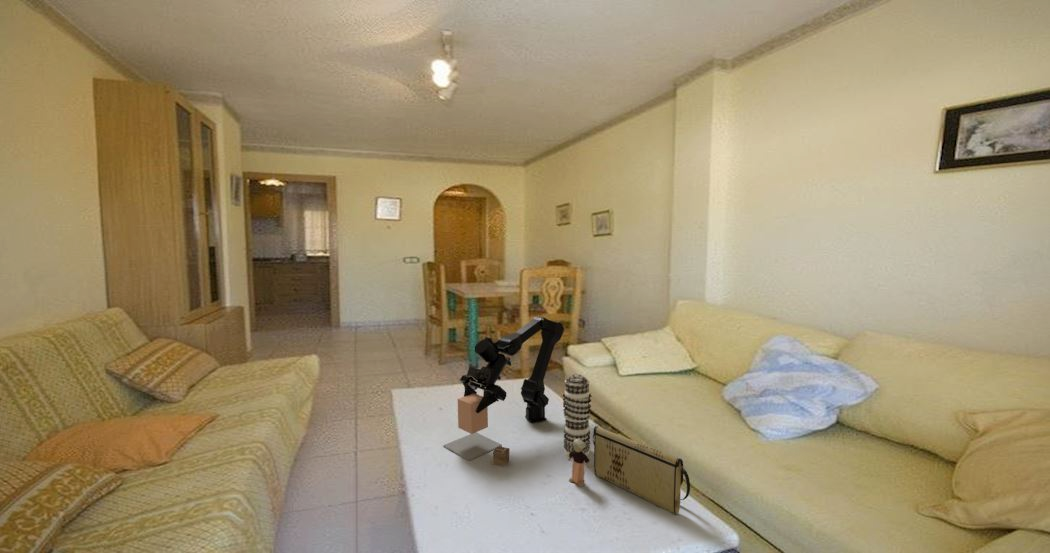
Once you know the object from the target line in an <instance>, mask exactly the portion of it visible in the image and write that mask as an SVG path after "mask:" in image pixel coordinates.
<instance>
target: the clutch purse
mask: <svg viewBox="0 0 1050 553" xmlns="http://www.w3.org/2000/svg"><path fill="white" fill-rule="evenodd" d="M592 439H593V440H592V444H593V447H594V448H593V449H594V450H593V451H594V452H593V457H594V458H593V470H594V474H595V476H597V477H599V478H602V479H603V480H606V481H607V482H610V483H612V484H613V485H616V486H618V487H620V488H622V489H624V490H626V491H628V492H630V493H633V494H634V495H635V496H639V497H640V498H642V499H644V500H646V501H648V502H650V503H653V504H654V505H656V506H659V507H660V508H662V509H665V510H666V511H668V512H671V513H673V514H674V515H675V516H677V515H679V513H680V509H681V508H680V507H681V501H684V500H686V499H687V498H688V497H689V495H690V491H691V482H690V476H689V474H688V472H687V470H686V467H685V466H684V460H683V459H682V458H679V457H678V456H677V457H676V456H674V455H672V454H669V453H666V452H664V451H661V450H659V449H656V448H654V447H651V446H649V445H646V444H643V443H640V442H638V441H635V440H633V439H631V438H628V437H625V436H623V435H621V434H620V435H619V434H618V433H615V432H612V431H610V430H607V429H605V428H603V427H599V426H598V425H595V426H594V428H593V434H592ZM684 477H685V481H686V482H685V483H686V493H685V496H684V497H683V498H681V487H682V485H683V482H684Z"/></svg>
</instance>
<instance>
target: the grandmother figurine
mask: <svg viewBox="0 0 1050 553" xmlns="http://www.w3.org/2000/svg"><path fill="white" fill-rule="evenodd" d="M573 444H574V450H573V451H572V452H571V453H570V454H569V456H568V457H567V461H568V462H571V461H572V470H571V476H570V477H569V479H568V481H569V482H570V483H576V484H577V486H583V485H584V484H585V483H586V481H585V464H586V466H587V468H588V469H591V468H592V465H591V462H590V461H591V460H590V459H589V457H588V455H587V456H586V455H585V454H584V453H583V452H582V450H583V449H584V448H585V444H584V443H583V441H582V440H580V439H575V440H574V442H573ZM572 459H573V460H572ZM584 482H585V483H584Z"/></svg>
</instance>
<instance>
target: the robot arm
mask: <svg viewBox="0 0 1050 553" xmlns="http://www.w3.org/2000/svg"><path fill="white" fill-rule="evenodd" d="M564 331H565V327H564V324H563V323H562V322H559V321H555V320H554V321H553V320H550V319H547V318H546V317H544V316H535V317H533V318H532V320H531V321H529V322H527V323H526V324H525V325H523V326H522V327H520V328H519V329H518V330H516V331H515V332H513V333H510V334H506V335H503V336H501V337H500V338H498V340H496V341H493V339H492V338H491V337H489V336H485V338H484V339H482V340H480V341H478V343H476V344H475V346H474V352H475V353H476V354H477V356H479V358H480V359H482V360H483V361H484V362H485V363H487V364H486V365H485V366H481V367H480V368H478V367H477V368H476V367H474V366H471V365H470V366H468V370H467V372H466V374H463V375H462V376H461V377H460V379H459V382H461V383H462V385H463V388H464V392H463V397H464V396H467V395H470V394H473V393H475V394H477V395H478V392H477V391H476V390H477V389H479V390H482V391H483V394H482V396H483V398H482V400H481V402H480V403H479V405H478V407H477V409H476V413H479V412H481V411H482V410H483V409H485V408H486V407H488V408H489V406H491V405H493V404H495V403H497V402H500V401H502V402H504V401H505V400H506V399H507V391H506V390H505V389H503V388H502V387H501V386H500V385H497V384H496V382H497V380H499V381H501V378H502V377H501V376H500V375H501V373H502V372H503V370H504V368H505V367H506V366H512V362H511V357H513V356H515V355H516V354H517V353H518V352H519V351H520V350H521V349H522V346H523V344H524V343H525V342H526V341H528V340H529V339H531V338H532V337H533V336H534V335H536V334H537V333H538V332H540V335H541V340H542V342H541V344H540V348H539V350H538V354H537V357H536V361H535V362H534V363H535V364H534V366H533V369H532V372H531V375H530V376H529V378H528V379H526V378H525V379H523V382H522V386H521V387H520V395H521V397H522V400H523V403H526V407H525V416H524V417H525V418H526V419H527V421H529V423H531V424H535V423H538V422H539V423H540V422H545V421H547V420H548V419H547V417H546V406H547V405H548V404H549V402H550V399H549V397H548V396H547V395H546V394H545V390H546V387H545V382H544V381H545V380H544V379H545V376H546V373H547V370H548V367H549V363H550V360H551V357H552V354H553V351H554V348H555V346H556V344H557V343H558V342H559V341H560V340H561V339H562V336H563V334H564ZM505 355H507V356H505ZM508 356H511V357H508ZM499 400H500V401H499Z"/></svg>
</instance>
